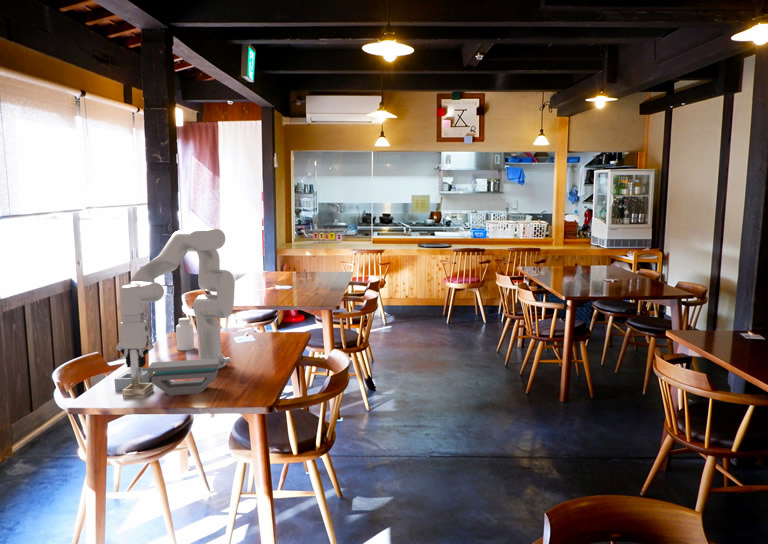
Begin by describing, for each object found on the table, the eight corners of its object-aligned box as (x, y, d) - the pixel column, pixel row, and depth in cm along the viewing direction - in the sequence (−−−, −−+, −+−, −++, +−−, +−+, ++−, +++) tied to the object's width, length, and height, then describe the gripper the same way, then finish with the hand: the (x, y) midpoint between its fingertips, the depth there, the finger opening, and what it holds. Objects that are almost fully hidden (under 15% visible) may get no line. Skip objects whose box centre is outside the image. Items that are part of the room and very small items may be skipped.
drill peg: (144, 380, 222) (142, 345, 221) (139, 384, 218) (137, 347, 217) (134, 381, 222) (131, 345, 221) (129, 384, 218) (127, 347, 217)
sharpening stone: (149, 396, 218) (147, 368, 217) (154, 390, 226) (152, 362, 224) (219, 391, 222) (217, 363, 221) (221, 385, 230) (219, 358, 229)
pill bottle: (197, 348, 287) (196, 317, 285) (184, 351, 281) (182, 321, 279) (187, 346, 292) (185, 316, 290) (173, 349, 285) (171, 319, 283)
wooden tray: (153, 390, 225) (152, 382, 224) (144, 397, 217) (143, 389, 217) (132, 390, 225) (132, 383, 225) (122, 397, 217) (122, 389, 217)
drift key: (159, 378, 239) (159, 371, 239) (156, 381, 236) (155, 374, 235) (141, 378, 239) (141, 371, 239) (137, 381, 236) (137, 374, 235)
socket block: (153, 378, 239) (152, 368, 239) (138, 390, 226) (137, 378, 225) (131, 378, 240) (131, 368, 239) (115, 390, 226) (114, 379, 225)
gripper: (159, 316, 221) (162, 363, 223) (115, 316, 221) (118, 363, 224) (150, 320, 213) (154, 369, 216) (105, 320, 214) (109, 369, 216)
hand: (136, 365), depth 220 cm, fingers closed on drill peg, 4 cm apart
